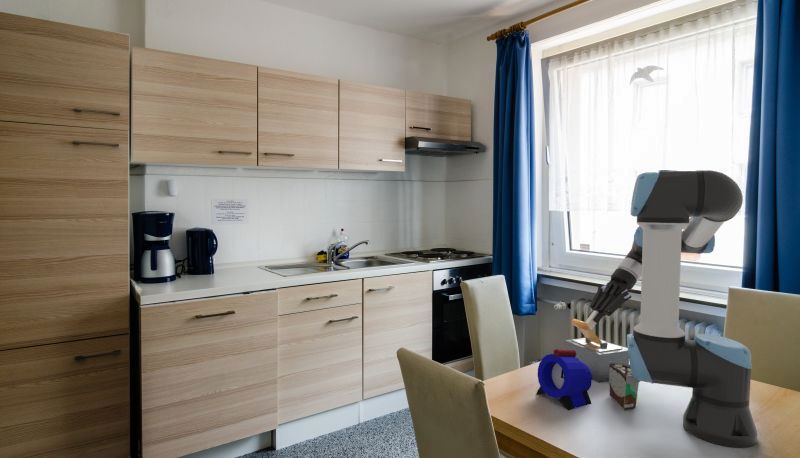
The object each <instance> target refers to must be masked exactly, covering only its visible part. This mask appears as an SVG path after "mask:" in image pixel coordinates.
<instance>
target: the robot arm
mask: <svg viewBox="0 0 800 458" xmlns="http://www.w3.org/2000/svg"><path fill="white" fill-rule="evenodd" d="M636 177H637V178H636V179H635V183H634V186H633V187H634V188H633V192H632V197H631V205H630V216H632V217H634V218H636V224H637V228H636V230H635V233H634V235H633V241H632V246H631V249H630V251H629V252H628V253H627V255H626V256H625V257H624V258H623V259H622V261H620V264H619V265H618V266H617V268H615V270H614V271H613V273H611V276H610V281H608V282H607V283H606V284H605V285H602V284H599V285H598V286H597V291H596V293H595V295H594V297H593V299H592V301H591V303H590V305H589V308H590V309H591V310H592V311H591V312H590V313H589V315H588V316H587V319H586V320H585V322H586V323H588V324H589V328H590V329H591V330H592V331H593V330H594V328H595V326H596V325H597V324H599V322H600V321H601V320H602V318H604V317H605V316H607V317H611V315H613V314H614V313H615V312H616V311H617V310H618V309H619V308H620V307H621V306H623V304H625V303H626V302H627V301H628V300H630V299H632V295H631V294H630V293H629V291H630V290H632V289H633V288H634V287H635V285H636V284H637V282H638V281H639V280H640V278H641V284H640V285H641V287H640V313H639V314H640V318H639V323H637V324H636V325H634V326H633V332H632V333H628V334H627V335H626V344H627V350H628V354H629V365H630V368H631V373H632V375H633V377H634V378H635V379H636V380H639V381H640V382H644V383H645V382H646V383H650V384H659V385H664V386H665V385H666V386H672V387H673V386H674V387H682V388H690V389H692V393H691V397H690V400H689V401H688V404H687V406H686V408H685V411H684V413H683V416H682V425H683V428H684V429H685V430H686V431H687V432H688V433H689V434H691V435H693V436H694V437H697V438H699V439H701V440H704V441H706V442H709V443H713V444H716V445H719V446H723V447H724V446H725V447H729V448H730V447H732V448H747V447H752V446H754V445H756V444H757V442H758V430H757V427H756V424H755V421H754V418H753V414H752V412H751V408H750V398H751V379H752V369H753V365H752V364H753V363H752V352H751V351H750V349H749V348H748V347H747V346H746V345H745V344H743V343H742V342H739V341H736V340H734V339H730V338H727V337H724V336H720V335H716V334H709V333H697V334H695V335H694V337H693V339H686V332H685V331H684V330H683V329H682V328H681V327H680V326H679V325H680V322H679V321H680V318H679V317H680V294H681V293H680V292H681V291H680V290H681V288H680V287H681V265H682V263H681V262H682V260H681V259H682V254H683V253H684V254H685V253H686V254H697V255H700V254H711V253H712V252H714V249H715V245H716V238H715V237H716V236H715V234H716V233H717V232H718V231H719V229H720V228H721V227H722V225H724V223H725V222H727V221H730V220H732V219H733V218H734V217H736V215H737V214H738V213H739V212H740V211H741V208H742V205H743V201H744V200H743V197H744V196H743V192H742V190H741V188H740V186H739V184H738V183H737V182H736V181H735V179H733V178H732V177H730V176H728V175H727V174H725V173H723V172H720V171H717V170H715V169H714V170H713V169H709V168H708V169H707V168H700V169H652V170H651V169H650V170H643V171H642V172H640V173H639V174H638V175H637V176H636Z"/></svg>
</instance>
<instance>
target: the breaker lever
mask: <svg viewBox="0 0 800 458" xmlns="http://www.w3.org/2000/svg"><path fill="white" fill-rule="evenodd" d="M571 325H572V326H575V327H576V328H577V329H578V330H579V331H580V333H581V334H583V336H584V338H585V337H586V338H587V339H588V340H589V341H591V342H593V343H596V344H599V345H600V343H601V342H602V341H601V340H602V339H601V340H600V338H599V337H598V336H597V335H596V333H595V332H594V331H593V329H592V330H591V329H590V328H589V324H588V323H586V321H582V320H579V319H577V318H573V319H572V320H571Z"/></svg>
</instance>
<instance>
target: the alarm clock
mask: <svg viewBox="0 0 800 458" xmlns="http://www.w3.org/2000/svg"><path fill="white" fill-rule="evenodd" d="M575 356H576V351H575V350H565V349H560V348H559V349H554V350H553V353H550V354H546V355H544V357H542V358H541V360H540V361H539V364H538V366H537V367H538V368H537V381H538V384H539V387H538V390H537V391H536V394H535V395H546V396H547V397H549V398H552V399H558V401H559V403H561V404H562V405H563V407H565V409H566V410H567V411H571V410H574V409H578V408H581V407H584V406H588V405H592V404H593V403H592V400H591V397H590V395H589V392H588V391H589V390H590V389H591V388H592V384H593V380H592V375H591V371H590V369H589V368H588V366H587V365H586V364H584V363H583V362H581V361H580V360H579V359H578V358H577V357H575Z"/></svg>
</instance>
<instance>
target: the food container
mask: <svg viewBox="0 0 800 458" xmlns="http://www.w3.org/2000/svg"><path fill="white" fill-rule="evenodd" d="M608 368H609V381H608V382H609V383H608V386H609V387H608V389H609V391H608V392H609V397H610V398H611V399H612V400H613V401H614V402H615V403H616V404H617V405H618V406H619V407H620V408H621V409H622V410H623V411H631V410H633V409H636V407H637V399H638V391H639V384H640V382H641V381H639V380H636V379H635V378H634V377H633V375H632V373H631V368H630V363H629V364H626V363H621V362H613V361H609V365H608Z"/></svg>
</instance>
